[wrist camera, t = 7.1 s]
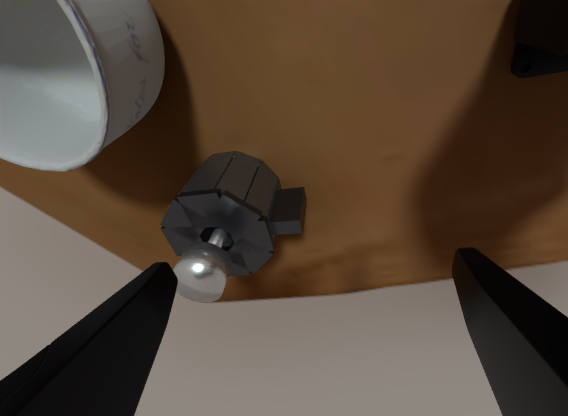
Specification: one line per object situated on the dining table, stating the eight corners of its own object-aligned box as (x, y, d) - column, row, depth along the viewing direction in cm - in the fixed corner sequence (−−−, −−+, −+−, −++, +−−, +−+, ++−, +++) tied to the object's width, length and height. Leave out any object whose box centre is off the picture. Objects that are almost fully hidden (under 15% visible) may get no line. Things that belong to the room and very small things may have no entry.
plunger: (254, 173, 20) (220, 255, 14) (269, 222, 23) (246, 310, 17) (196, 180, 21) (140, 259, 15) (216, 226, 24) (176, 310, 18)
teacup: (204, 116, 20) (144, 176, 13) (66, 120, 21) (-44, 176, 15) (118, -231, 11) (-144, -498, 5) (-97, -179, 13) (-495, -334, 7)
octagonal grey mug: (297, 142, 20) (288, 185, 16) (312, 221, 24) (308, 273, 20) (180, 158, 22) (143, 200, 18) (213, 229, 26) (189, 277, 22)
